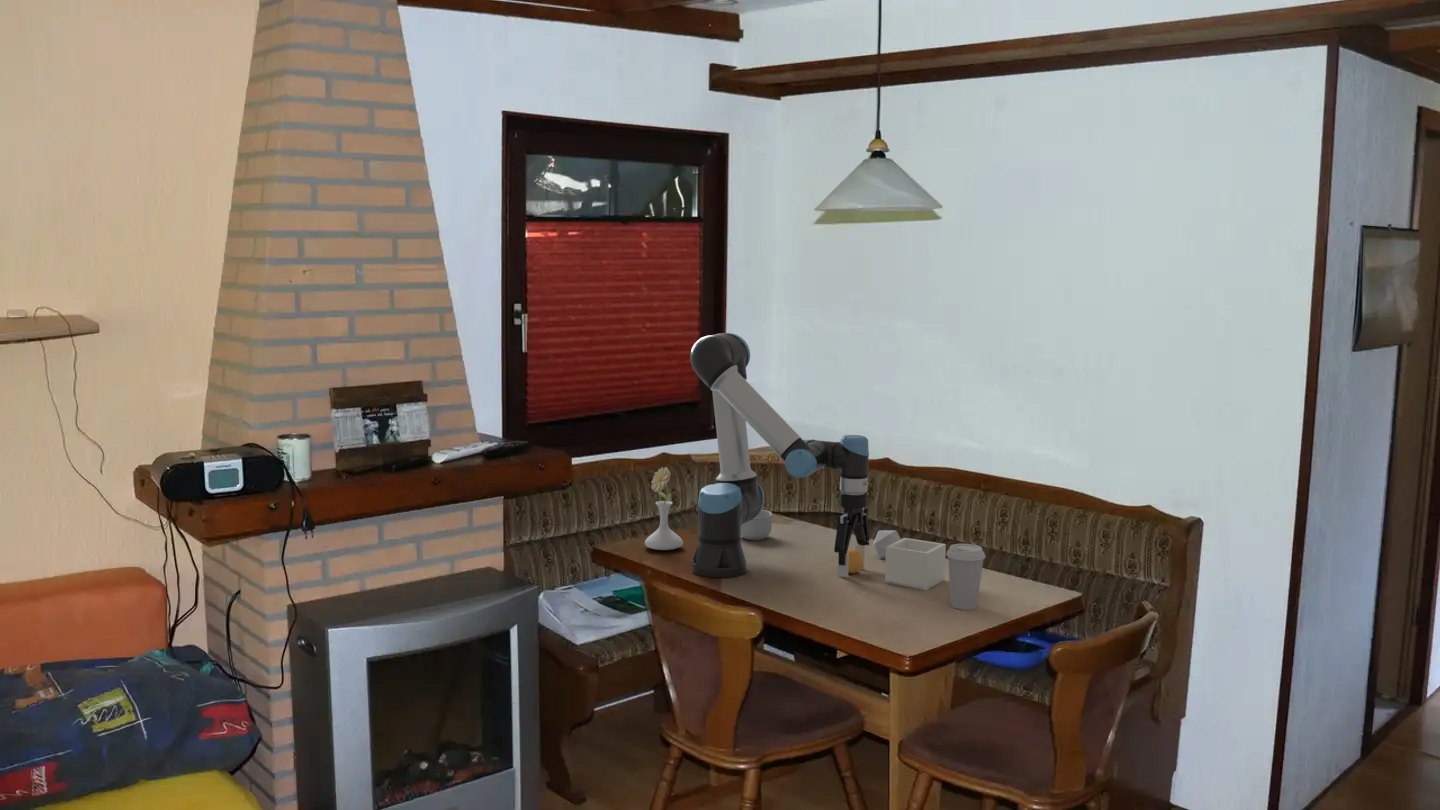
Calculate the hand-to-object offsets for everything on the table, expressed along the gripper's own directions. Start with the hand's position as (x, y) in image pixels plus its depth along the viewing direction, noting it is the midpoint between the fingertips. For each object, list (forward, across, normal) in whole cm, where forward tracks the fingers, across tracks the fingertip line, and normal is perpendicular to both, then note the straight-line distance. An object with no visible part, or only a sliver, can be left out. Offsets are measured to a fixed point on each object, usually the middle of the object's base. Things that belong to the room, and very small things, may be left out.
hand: (851, 572), depth 322 cm
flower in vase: (0, -9, +57) cm, 58 cm away
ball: (0, 0, 0) cm, 0 cm away
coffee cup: (0, -11, -37) cm, 39 cm away
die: (0, +21, -1) cm, 21 cm away
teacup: (+1, +18, +44) cm, 48 cm away
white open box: (0, +2, -18) cm, 18 cm away
